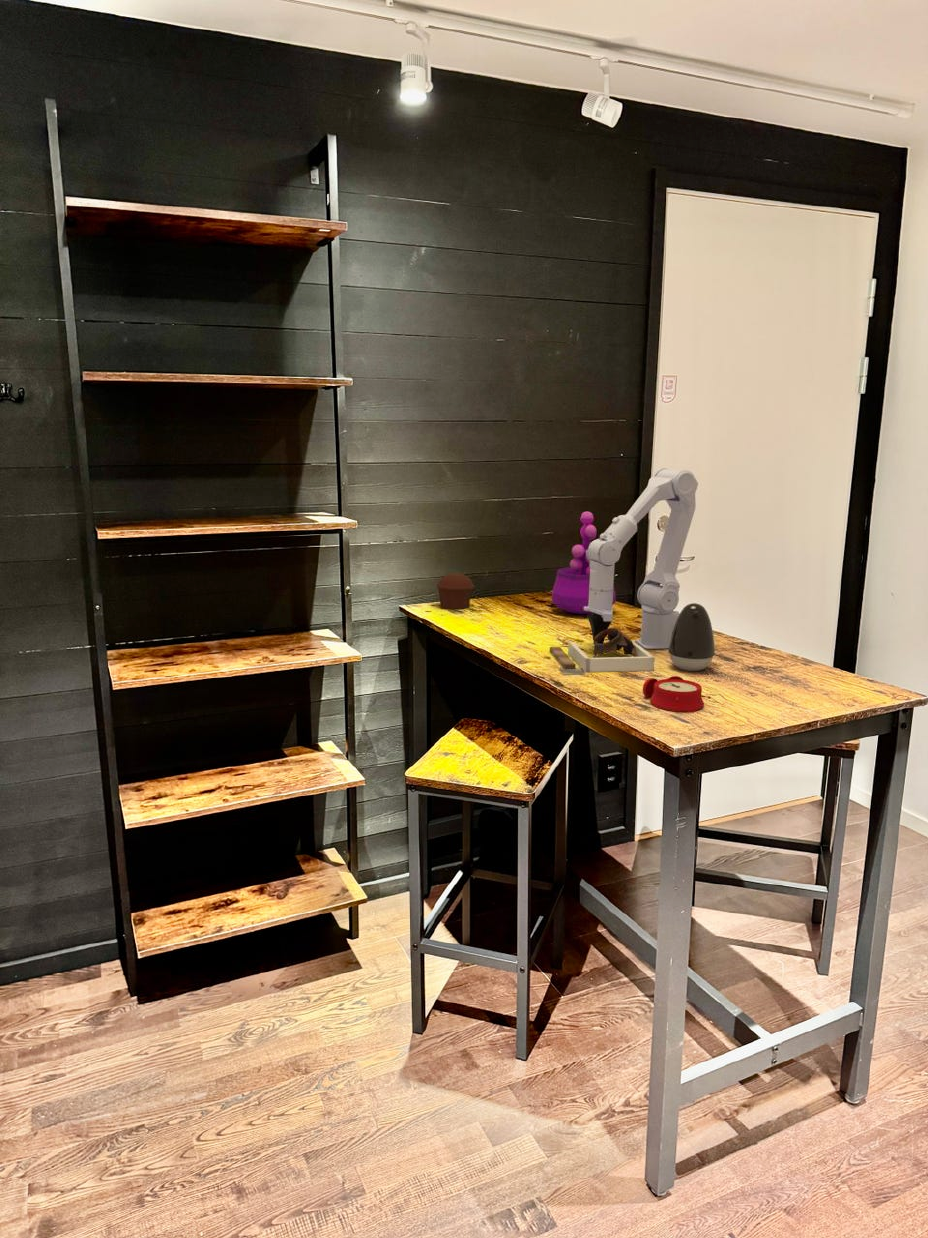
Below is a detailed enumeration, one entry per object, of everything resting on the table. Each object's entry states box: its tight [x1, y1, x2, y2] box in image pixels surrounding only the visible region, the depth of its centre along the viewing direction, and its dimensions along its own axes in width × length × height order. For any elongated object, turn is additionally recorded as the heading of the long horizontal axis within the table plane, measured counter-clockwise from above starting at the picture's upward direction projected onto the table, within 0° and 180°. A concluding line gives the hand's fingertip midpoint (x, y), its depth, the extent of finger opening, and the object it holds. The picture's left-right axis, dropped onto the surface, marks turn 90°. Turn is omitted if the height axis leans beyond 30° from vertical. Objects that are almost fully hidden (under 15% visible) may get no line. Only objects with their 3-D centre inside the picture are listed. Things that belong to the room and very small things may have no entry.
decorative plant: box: [551, 511, 616, 615], centre depth 250 cm, size 19×18×30 cm
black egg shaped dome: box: [668, 602, 716, 672], centre depth 194 cm, size 10×10×15 cm
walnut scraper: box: [549, 646, 586, 676], centre depth 199 cm, size 20×5×2 cm, turn 7°
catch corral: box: [567, 639, 656, 673], centre depth 200 cm, size 16×16×3 cm
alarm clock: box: [642, 675, 711, 714], centre depth 171 cm, size 10×6×15 cm
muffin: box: [436, 572, 475, 611], centre depth 258 cm, size 12×11×10 cm
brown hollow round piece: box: [592, 627, 636, 658], centre depth 204 cm, size 12×10×8 cm
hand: (598, 643), depth 209 cm, fingers closed
